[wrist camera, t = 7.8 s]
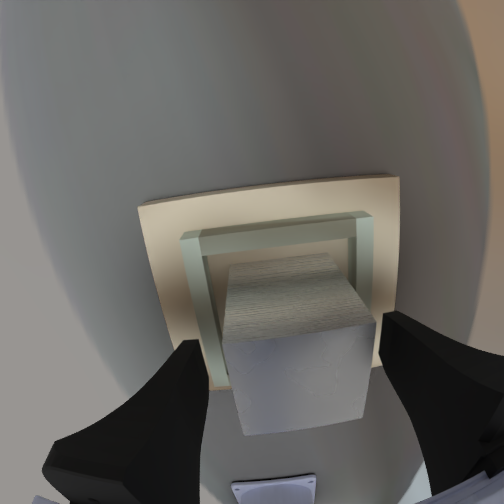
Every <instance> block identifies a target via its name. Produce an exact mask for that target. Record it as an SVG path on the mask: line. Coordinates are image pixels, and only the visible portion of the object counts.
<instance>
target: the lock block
mask: <svg viewBox="0 0 504 504" xmlns="http://www.w3.org/2000/svg"><path fill="white" fill-rule="evenodd" d="M376 324H377V322H376V320H375V319H374V317H373V316H372V314H371V313H370V311H369V310H368V308H367V307H366V306H365V304H364V303H363V301H362V300H361V298H360V297H359V296H358V294H357V293H356V291H355V290H354V288H353V287H352V286H351V284H350V283H349V281H348V280H347V279H346V277H345V276H344V274H343V273H342V272H341V270H340V269H339V267H338V266H337V265H336V263H335V262H334V261H333V259H332V258H331V257H330V255H329V254H328V252H327V253H319V254H311V255H303V256H295V257H287V258H279V259H270V260H262V261H254V262H246V263H237V264H230V268H229V278H228V288H227V298H226V308H225V318H224V329H223V339H222V346H223V351H224V355H225V360H226V364H227V369H228V373H229V378H230V382H231V386H232V390H233V395H234V399H235V403H236V407H237V411H238V415H239V419H240V423H241V427H242V431H243V435H244V436H249V435H260V434H270V433H279V432H287V431H294V430H301V429H308V428H314V427H319V426H325V425H330V424H335V423H340V422H345V421H350V420H354V419H359V418H362V417H363V412H364V407H365V401H366V396H367V390H368V384H369V378H370V372H371V365H372V358H373V350H374V342H375V334H376Z"/></svg>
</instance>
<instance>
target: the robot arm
mask: <svg viewBox="0 0 504 504" xmlns="http://www.w3.org/2000/svg"><path fill="white" fill-rule="evenodd" d="M378 354H379V357H380V360H381V362H382V365H383V368H384V370H385V373H386V375H387V376H388V378H389V380H390V382H391V384H392V386H393V387H394V389H395V391H396V393H397V395H398V396H399V398H400V400H401V402H402V404H403V405H404V407H405V409H406V411H407V413H408V415H409V417H410V419H411V422H412V424H413V427H414V430H415V432H416V435H417V438H418V441H419V444H420V447H421V450H422V454H423V457H424V461H425V465H426V469H427V473H428V477H429V482H430V488H431V494H432V497H430V498H428V499H425V500H423V501H420V502H418V503H415V504H504V356H501V355H497V354H492V353H488V352H485V351H482V350H478V349H475V348H473V347H470V346H467V345H464V344H462V343H459V342H457V341H455V340H453V339H450V338H448V337H446V336H444V335H442V334H440V333H438V332H436V331H434V330H432V329H430V328H429V327H427V326H425V325H423V324H421V323H419V322H418V321H416V320H414V319H412V318H410V317H409V316H407V315H405V314H403V313H401V312H399V311H391V312H387V313H383V317H382V326H381V335H380V343H379V351H378ZM208 400H209V375H208V372H207V368H206V365H205V361H204V357H203V354H202V350H201V346H200V342H199V339H191V340H183V341H182V342H181V343H180V345H179V346H178V347H177V348H176V349H175V351H174V352H173V353H172V354H171V356H170V357H169V358H168V359H167V361H166V362H165V363H164V364H163V365H162V367H161V368H160V369H159V370H158V371H157V372H156V374H155V375H154V376H153V377H152V378H151V379H150V380H149V381H148V382H147V383H146V384H145V385H144V386H143V387H142V388H141V389H140V390H139V391H138V392H137V393H136V394H135V395H134V396H132V397H131V398H130V399H129V400H128V401H126V402H125V403H124V404H123V405H121V406H120V407H119V408H117V409H116V410H114V411H113V412H111V413H110V414H108V415H107V416H106V417H104V418H103V419H101V420H99V421H97V422H96V423H94V424H92V425H91V426H89V427H87V428H85V429H83V430H81V431H79V432H76V433H74V434H72V435H69V436H67V437H65V438H62V439H60V440H57V441H55V442H54V444H53V446H52V448H51V450H50V452H49V455H48V457H47V459H46V461H45V463H44V465H43V468H42V473H43V475H44V477H45V478H46V480H47V481H48V482H49V483H50V484H51V485H52V486H53V487H54V488H55V489H56V490H58V491H59V492H60V493H61V494H62V495H63V496H64V497H66V498H67V499H68V500H69V501H70V504H200V496H199V491H200V490H199V488H200V452H201V443H202V437H203V431H204V425H205V419H206V413H207V407H208ZM231 488H232V491H233V493H234V495H235V497H236V499H237V501H238V503H239V504H314V498H315V488H316V475H306V476H300V477H292V478H285V479H276V480H266V481H254V482H236V483H232V484H231ZM32 504H59V503H57V502H54V501H51V500H48V499H46V498H43V497H40V496H35V497H34V500H33V502H32Z"/></svg>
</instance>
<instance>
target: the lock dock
mask: <svg viewBox="0 0 504 504" xmlns="http://www.w3.org/2000/svg"><path fill="white" fill-rule="evenodd" d="M138 212H139V217H140V222H141V227H142V231H143V236H144V240H145V245H146V249H147V253H148V257H149V262H150V266H151V270H152V274H153V278H154V281H155V285H156V289H157V293H158V296H159V300H160V304H161V307H162V311H163V314H164V318H165V321H166V324H167V328H168V331H169V334H170V338H171V341H172V344H173V347H174V350H175V349H176V348H177V347H178V346H179V345H180V343H181V342H182V341H183V340H191V339H199V342H200V346H201V350H202V354H203V357H204V361H205V365H206V368H207V372H208V375H209V391H210V390H225V389H232V386H231V382H230V378H229V373H228V369H227V364H226V360H225V355H224V351H223V346H222V339H223V329H224V318H225V308H226V298H227V288H228V278H229V268H230V264H237V263H246V262H254V261H262V260H270V259H279V258H287V257H295V256H303V255H311V254H319V253H327V252H328V254H329V255H330V257H331V258H332V259H333V261H334V262H335V263H336V265H337V266H338V267H339V269H340V270H341V272H342V273H343V274H344V276H345V277H346V279H347V280H348V281H349V283H350V284H351V286H352V287H353V288H354V290H355V291H356V293H357V294H358V296H359V297H360V298H361V300H362V301H363V303H364V304H365V306H366V307H367V308H368V310H369V311H370V313H371V314H372V316H373V317H374V319H375V320H376V322H377V324H376V334H375V342H374V350H373V358H372V365H371V368H372V367H376V366H381V365H382V362H381V360H380V357H379V354H378V351H379V343H380V335H381V326H382V317H383V313H387V312H391V311H394V307H395V298H396V287H397V274H398V258H399V234H400V183H399V177H398V176H394V175H390V174H379V175H362V176H348V177H335V178H323V179H311V180H301V181H291V182H281V183H272V184H264V185H255V186H247V187H239V188H232V189H224V190H217V191H210V192H203V193H197V194H190V195H184V196H178V197H172V198H166V199H160V200H154V201H148V202H145V203H143V204H141V205H140V206H138Z"/></svg>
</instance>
